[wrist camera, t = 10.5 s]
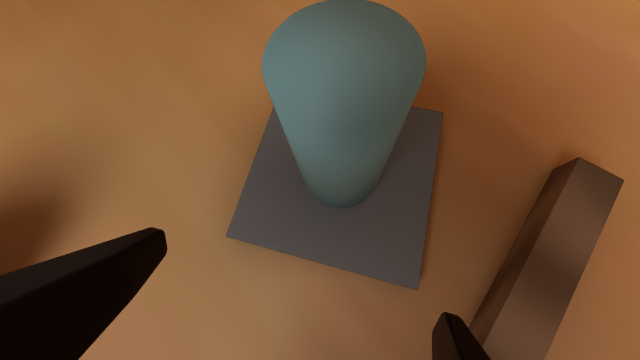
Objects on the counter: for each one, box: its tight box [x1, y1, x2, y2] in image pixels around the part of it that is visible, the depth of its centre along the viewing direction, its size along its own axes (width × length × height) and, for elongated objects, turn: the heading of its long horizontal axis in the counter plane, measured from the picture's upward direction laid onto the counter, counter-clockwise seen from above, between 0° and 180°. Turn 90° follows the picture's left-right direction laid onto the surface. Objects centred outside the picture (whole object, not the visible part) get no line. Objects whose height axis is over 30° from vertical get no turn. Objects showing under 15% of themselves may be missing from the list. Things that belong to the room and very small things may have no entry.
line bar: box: [469, 157, 624, 360], centre depth 15 cm, size 16×2×2 cm, turn 143°
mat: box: [226, 107, 443, 290], centre depth 18 cm, size 12×12×1 cm
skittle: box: [262, 0, 426, 208], centre depth 13 cm, size 5×5×10 cm
